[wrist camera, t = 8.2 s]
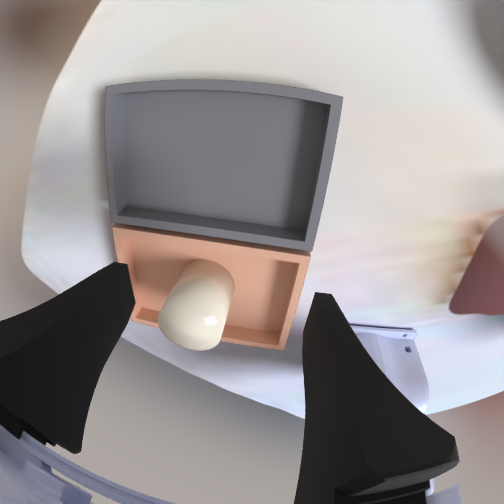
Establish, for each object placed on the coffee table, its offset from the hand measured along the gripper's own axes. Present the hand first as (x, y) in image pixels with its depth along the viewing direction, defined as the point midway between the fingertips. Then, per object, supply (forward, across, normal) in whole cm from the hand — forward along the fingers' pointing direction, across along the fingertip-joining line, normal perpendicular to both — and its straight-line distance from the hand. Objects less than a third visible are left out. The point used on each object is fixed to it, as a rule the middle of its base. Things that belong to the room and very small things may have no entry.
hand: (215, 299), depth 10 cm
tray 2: (+10, +3, +7) cm, 12 cm away
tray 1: (+10, +2, -3) cm, 11 cm away
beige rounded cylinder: (+9, +3, +7) cm, 12 cm away
